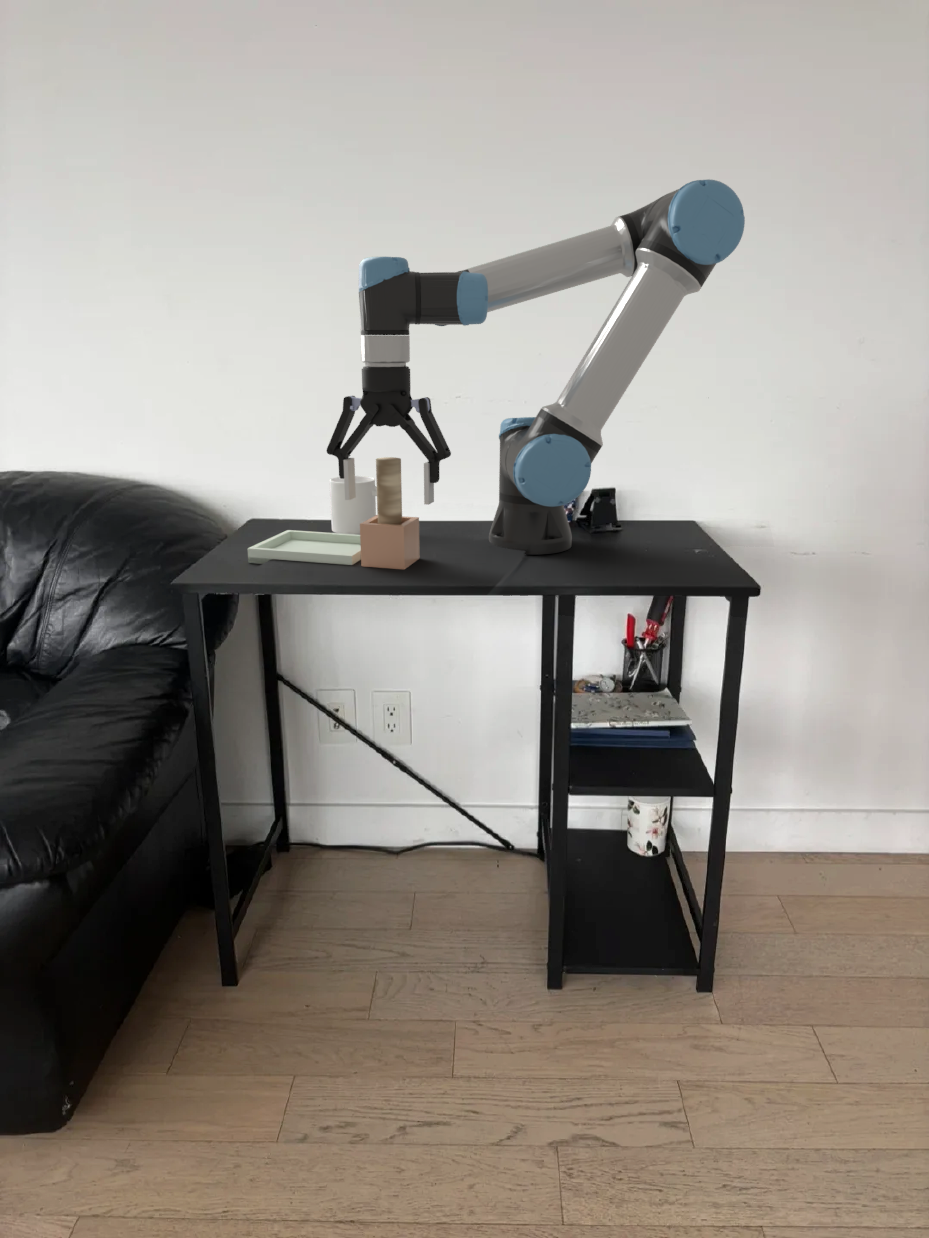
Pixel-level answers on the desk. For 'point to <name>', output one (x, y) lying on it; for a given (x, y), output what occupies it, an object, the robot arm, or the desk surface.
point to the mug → (352, 504)
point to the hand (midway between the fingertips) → (389, 501)
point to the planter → (389, 543)
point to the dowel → (389, 490)
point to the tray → (308, 548)
